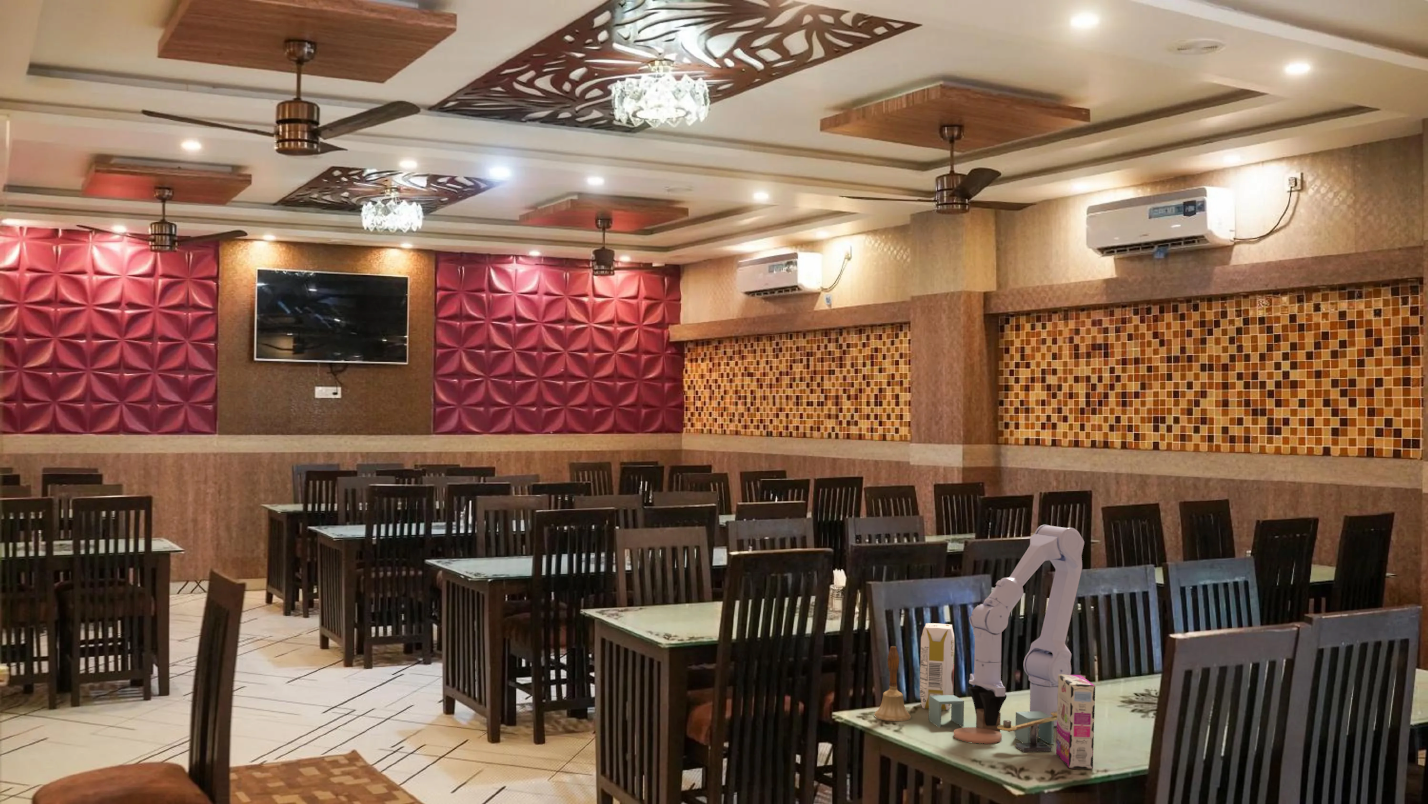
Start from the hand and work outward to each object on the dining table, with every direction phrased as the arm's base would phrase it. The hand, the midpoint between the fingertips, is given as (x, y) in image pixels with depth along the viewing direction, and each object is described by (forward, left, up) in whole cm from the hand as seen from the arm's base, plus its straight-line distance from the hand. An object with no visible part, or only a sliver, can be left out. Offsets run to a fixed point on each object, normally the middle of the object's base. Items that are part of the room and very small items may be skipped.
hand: (986, 722), depth 274 cm
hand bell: (+17, -13, -2) cm, 21 cm away
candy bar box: (-7, +27, -2) cm, 28 cm away
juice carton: (+3, -22, -2) cm, 22 cm away
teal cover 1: (+7, -6, -2) cm, 9 cm away
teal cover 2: (-6, +11, -2) cm, 13 cm away
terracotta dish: (+5, +7, -1) cm, 9 cm away
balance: (-3, +17, -1) cm, 17 cm away
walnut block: (0, 0, -1) cm, 1 cm away
